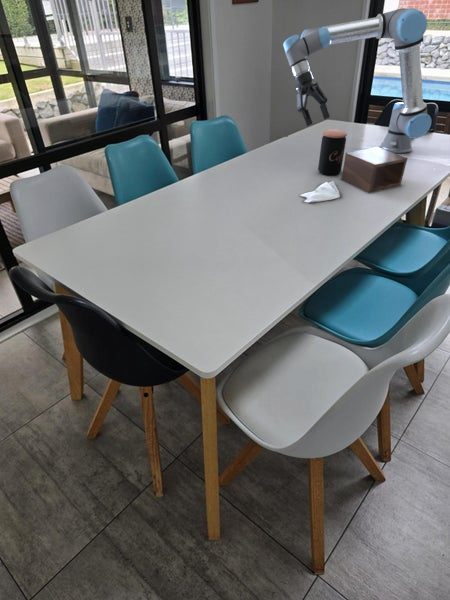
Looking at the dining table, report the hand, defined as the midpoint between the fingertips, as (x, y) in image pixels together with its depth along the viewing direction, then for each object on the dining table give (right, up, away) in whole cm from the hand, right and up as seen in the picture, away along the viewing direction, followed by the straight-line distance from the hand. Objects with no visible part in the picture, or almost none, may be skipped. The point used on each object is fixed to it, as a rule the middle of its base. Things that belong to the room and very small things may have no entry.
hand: (318, 121), depth 188 cm
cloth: (-1, -37, -15) cm, 40 cm away
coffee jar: (+6, -21, +6) cm, 23 cm away
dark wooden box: (+22, -29, -5) cm, 37 cm away
